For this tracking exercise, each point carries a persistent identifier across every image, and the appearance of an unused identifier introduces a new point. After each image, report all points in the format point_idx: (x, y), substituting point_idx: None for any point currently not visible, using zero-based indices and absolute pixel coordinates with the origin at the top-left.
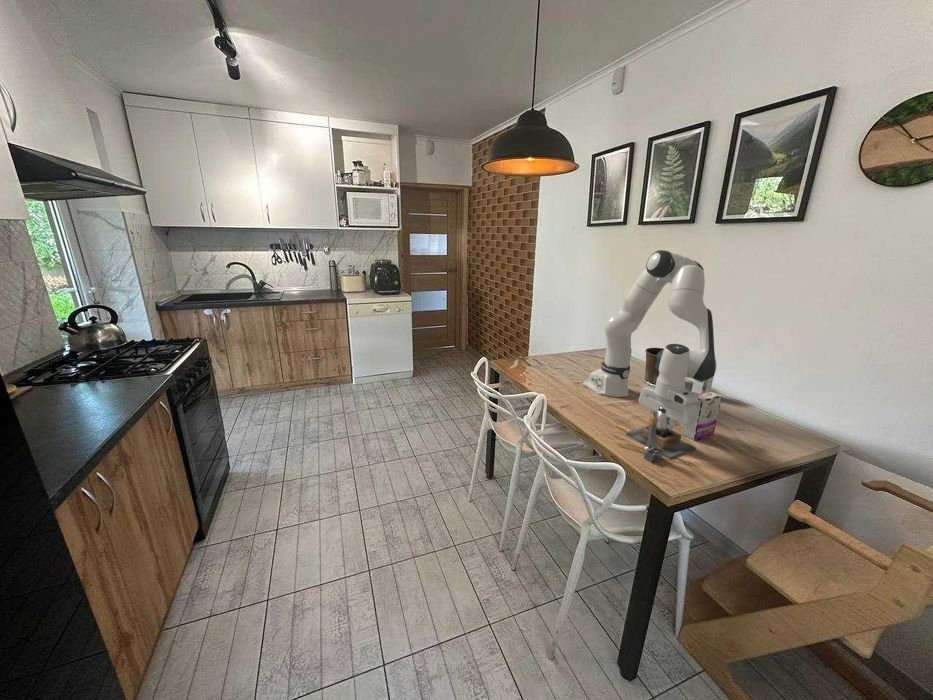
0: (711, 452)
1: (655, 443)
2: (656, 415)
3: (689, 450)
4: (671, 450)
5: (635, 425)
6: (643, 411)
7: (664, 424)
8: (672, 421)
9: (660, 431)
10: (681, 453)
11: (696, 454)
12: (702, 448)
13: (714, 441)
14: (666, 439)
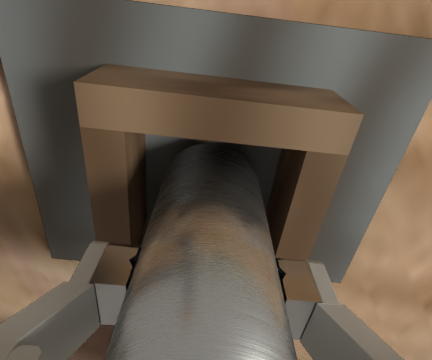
0: (12, 279)
1: (179, 75)
2: (318, 353)
3: (44, 211)
4: (67, 106)
5: (417, 222)
6: (424, 357)
7: (145, 263)
8: (4, 356)
9: (184, 186)
10: (26, 138)
11: (12, 210)
12: (55, 279)
13: (86, 351)
14: (89, 130)
